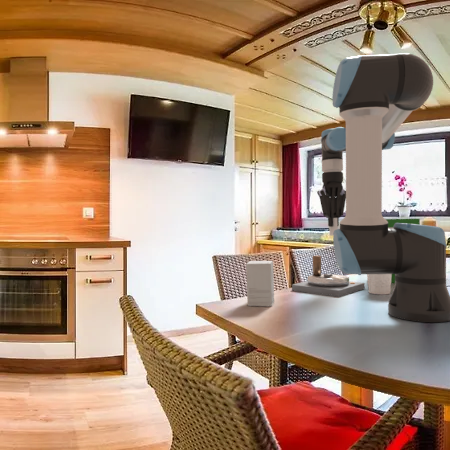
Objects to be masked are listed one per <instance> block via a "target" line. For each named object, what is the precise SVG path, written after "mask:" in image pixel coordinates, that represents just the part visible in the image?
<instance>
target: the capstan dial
mask: <svg viewBox="0 0 450 450" xmlns="http://www.w3.org/2000/svg"><path fill="white" fill-rule="evenodd" d="M307 281H308V284H311V285H316V286H345V285H348V284H349V281H350V276H347V275H342V274H332V273H323V274H322V255H312V274H311V275H309V276H307Z"/></svg>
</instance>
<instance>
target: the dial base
mask: <svg viewBox="0 0 450 450" xmlns="http://www.w3.org/2000/svg"><path fill="white" fill-rule="evenodd" d="M365 287H366V286H365V282H359V281H350V280H349V284H348V285H345V286H316V285H311V284H308V280H306V281H302V282H298V283H293V284H291V291H293V290H294V291H293V292H302V293H309V294H316V295H322V296H323V295H324V296H331V297H338V298H340V297H342V296H346V295H349V294H352V293H356V292H359V291H362V290H364V289H365Z"/></svg>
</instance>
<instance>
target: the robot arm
mask: <svg viewBox="0 0 450 450" xmlns="http://www.w3.org/2000/svg"><path fill="white" fill-rule="evenodd" d="M334 77H335V78H334V82H333V88H332V89H333V90H332V98H331V99H332V106H333V107H334V108H336V109H338V110H339V116H340V117H341V119H342V120H344V122H345V127H344V126H343V127H342V126H338V127H335V128H327V129H325V130H323V131H322V132H321V137H320V138H321V139H320V142H321V171H322V175H321V181H322V183H323V184H322V187H321V188H322V189H320V190H317V191H316V192H317V195H318V197H319V200H320V201H319V202H320V206H321V210H322V215H323V217H325V218H327V226H328V227H329V236H333V237H332V239H333V241H332V242H333V250H334V254H335V257H336V263H337V265H338V268H339V269H340V271H341V273H343V274H347V275H358V276H362V275H367V274H395V283H394V286H393V289H392V291H391V294H390V299H389V300H388V304H387V307H388V308H387V310H388V311H387V312H388V315H390V316H391V317H394V318H397V319H401V320H405V321H413V322H421V323H444V322H450V293H449V291H448V287H447V245H448V244H447V243H446V232H445V231H444V229H443V228H442V227H439V226H436V225H435V226H434V225H426V224H420V225H417V224H406V223H395V224H394V226H393V228H392V229H388V221H387V220H385V219H386V218H385V217H383V215H382V213H383V212H382V211H383V210H382V209H383V208H382V207H383V203H382V202H383V200H382V199H383V195H382V194H383V191H382V190H383V186H382V185H383V183H382V182H383V177H382V175H383V172H382V171H383V150H385V151H387V150H391V149H392V148H393V147H394V143H395V141H396V134H395V133H396V132H397V130H398V129H399V128H400V126H401V125H402V124H403V123H404V122H405V120H406V119H407V118H408V117H409V116H410V115H411V113H412V112H413V111H416V110H418V109H419V108H421V107H422V106H423V105H424V104H425V103H426V102H427V100H428V99H429V97H430V96H431V94H432V91H433V88H434V87H433V86H434V76H433V72H432V69H431V68H430V66H429V64H428V63H427V61H425V60H424V59H423V58H421V57H420V56H417V55H416V54H412V53H408V52H404V53H403V52H402V53H391V54H389V53H388V54H387V53H386V54H370V55H366V54H365V55H362V54H361V55H357V56H350V57H348V56H347V57H345V58H343V59H342V60H341V61H340V62H339V64H338V66H337V69H336V74H335V76H334ZM344 152H345V189H344V186H343V182H344V173H343V172H342V171H344V161H343V159H344V158H343V156H344V155H343V153H344ZM344 212H345V216H344ZM342 216H344V217H343V218H342V219H341V220H340V221H339V219H340V218H341V217H342ZM338 227H339V228H338Z"/></svg>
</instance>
